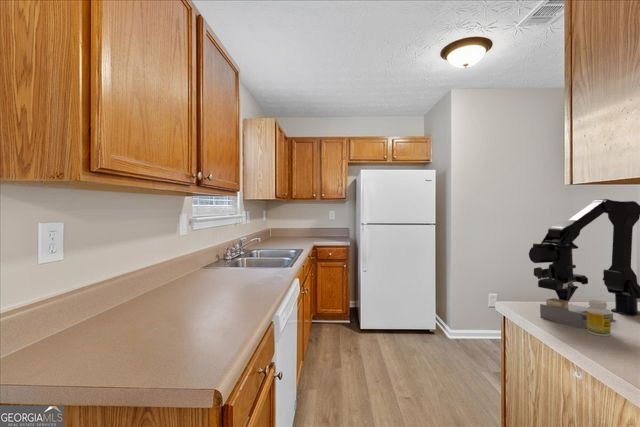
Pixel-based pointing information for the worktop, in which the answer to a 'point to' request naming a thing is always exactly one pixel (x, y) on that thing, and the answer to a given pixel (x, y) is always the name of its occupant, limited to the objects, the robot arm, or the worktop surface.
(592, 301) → the supplement bottle
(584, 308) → the trap board
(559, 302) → the maple block
